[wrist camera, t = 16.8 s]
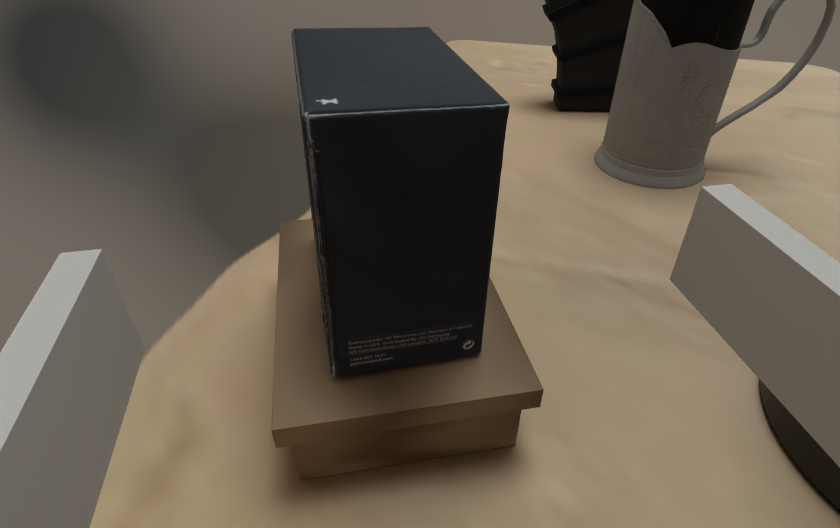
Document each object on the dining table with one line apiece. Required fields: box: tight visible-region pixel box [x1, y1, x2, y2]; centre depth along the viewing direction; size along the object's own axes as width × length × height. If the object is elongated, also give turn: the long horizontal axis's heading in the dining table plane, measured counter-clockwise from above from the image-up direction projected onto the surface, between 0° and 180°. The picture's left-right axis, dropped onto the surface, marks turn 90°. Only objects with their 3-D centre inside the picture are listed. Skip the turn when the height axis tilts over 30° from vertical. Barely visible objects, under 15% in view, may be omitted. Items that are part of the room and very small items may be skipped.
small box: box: [292, 27, 510, 377], centre depth 22 cm, size 11×6×10 cm, turn 13°
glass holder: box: [594, 0, 836, 189], centre depth 41 cm, size 9×14×15 cm, turn 87°
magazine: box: [543, 0, 634, 111], centre depth 53 cm, size 4×13×15 cm, turn 88°
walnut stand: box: [272, 219, 543, 480], centre depth 26 cm, size 10×14×4 cm
